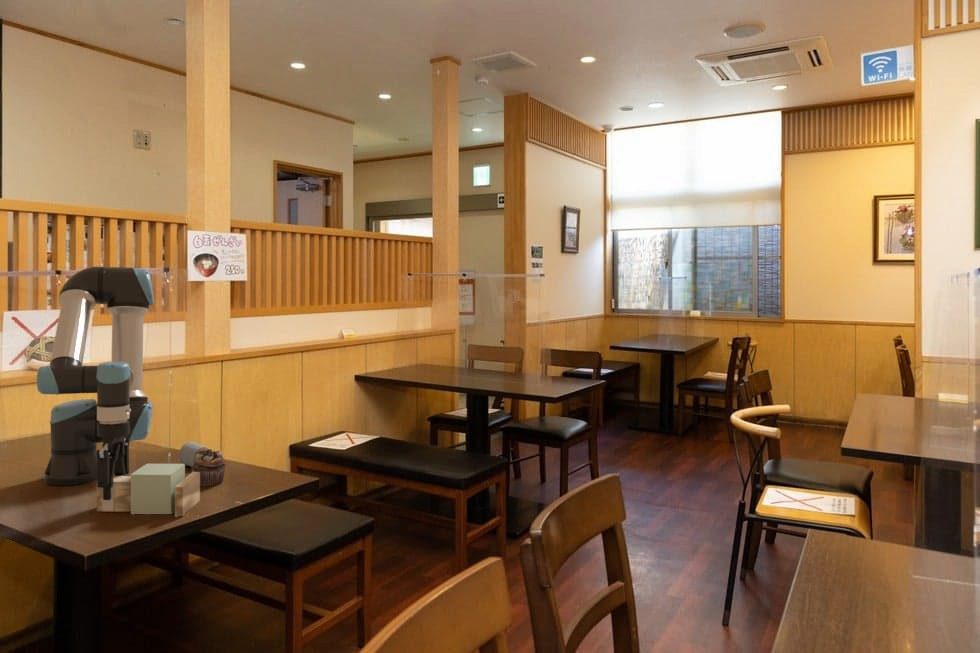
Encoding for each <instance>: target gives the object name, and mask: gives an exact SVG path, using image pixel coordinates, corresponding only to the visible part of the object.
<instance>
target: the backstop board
mask: <svg viewBox="0 0 980 653" xmlns="http://www.w3.org/2000/svg"><path fill="white" fill-rule="evenodd" d="M200 500H201V486H200V472H192V471H191V472H190V473H189V474H188V475H187V476H185V479H184V480H182V481H181V482H180V483H179V484H178V485H177V486H175V512H174V517H175V516H183V515H184V514H185V513H186V512H187V511H188V510H189V509H190V508H191V509H193V507H195V506H196V504H198V503H199V502H200ZM191 509H190V510H191ZM190 510H189V511H190ZM189 511H188V512H189ZM188 512H187V513H188ZM187 513H186V514H187ZM186 514H185V515H186ZM185 515H184V516H185ZM184 516H183V517H184Z"/></svg>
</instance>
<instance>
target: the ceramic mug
mask: <svg viewBox="0 0 980 653" xmlns="http://www.w3.org/2000/svg"><path fill="white" fill-rule="evenodd" d="M209 449H210V448H209V447H207V446H205V445H204V444H200V443H198V442H195V441H188V442H186V443H184V444H183V445H182V446H181V447H180V449H179V451H178V460H179V462H180V464H185V466H188V467H190V468H192V467H193V465H194V464H195V460H196V459H197V458H196V455H197V454H198V453H199V452H201V451H207V450H209ZM204 453H205V454H206V452H204Z"/></svg>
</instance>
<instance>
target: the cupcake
mask: <svg viewBox="0 0 980 653" xmlns="http://www.w3.org/2000/svg"><path fill="white" fill-rule="evenodd" d="M204 452H206V454H205V453H204ZM196 458H197V459H196V460H195V464H194V465H193V467H190V468H191V473H192V472H200V487H201V486H211V487H215V485H216V486H218V485H221V484H222V483H223V482H224V478H225V472H226V468H227V466H226V462H225V458H224V457H223V452H221V451H219V450H217V451H215V450H213V449H210V448H209V450H207V451H201V452H199V453H198V454H197V455H196Z"/></svg>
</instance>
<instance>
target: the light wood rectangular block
mask: <svg viewBox="0 0 980 653" xmlns="http://www.w3.org/2000/svg"><path fill="white" fill-rule="evenodd" d="M113 486H115V511H114V512H129V511H131V475H129V476H115V475H114V479H113ZM96 512H104V511H103V489H102V487H98V486H97V485H96Z"/></svg>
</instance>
